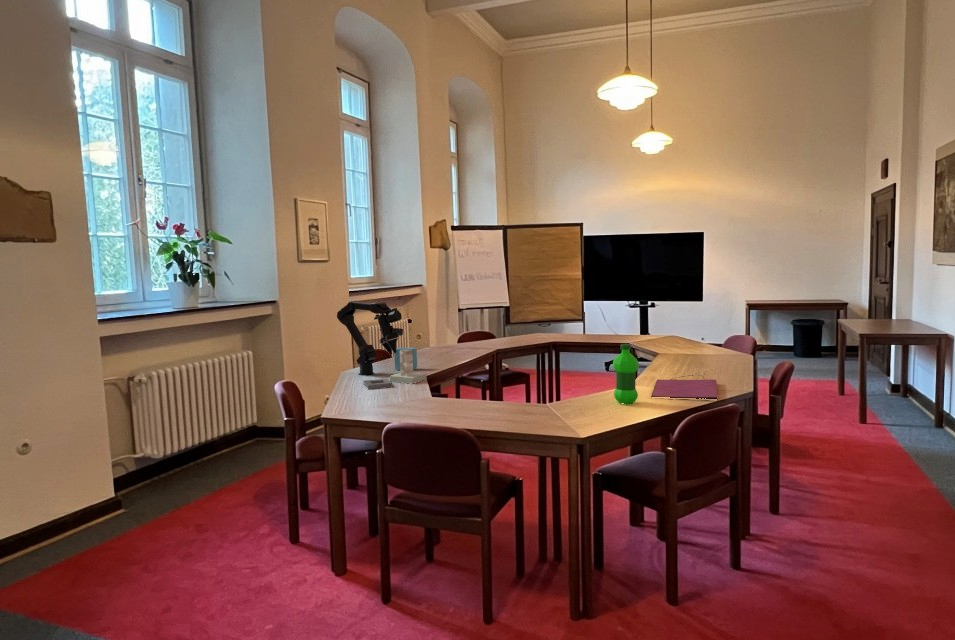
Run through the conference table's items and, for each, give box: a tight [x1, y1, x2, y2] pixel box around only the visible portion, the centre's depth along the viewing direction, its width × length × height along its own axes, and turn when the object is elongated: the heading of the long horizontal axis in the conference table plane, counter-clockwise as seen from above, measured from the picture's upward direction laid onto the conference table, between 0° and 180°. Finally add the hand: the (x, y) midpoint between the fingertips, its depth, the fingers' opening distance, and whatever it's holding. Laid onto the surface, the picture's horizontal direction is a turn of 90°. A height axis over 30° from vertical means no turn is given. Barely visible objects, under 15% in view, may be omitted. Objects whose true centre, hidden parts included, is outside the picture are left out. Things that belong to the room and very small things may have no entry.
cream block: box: [399, 349, 414, 376], centre depth 337 cm, size 4×4×13 cm
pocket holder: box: [363, 378, 393, 390], centre depth 328 cm, size 12×12×2 cm
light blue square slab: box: [393, 347, 418, 371], centre depth 370 cm, size 12×4×12 cm, turn 88°
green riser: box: [389, 372, 427, 384], centre depth 339 cm, size 14×12×3 cm
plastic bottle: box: [612, 343, 640, 405], centre depth 277 cm, size 10×10×25 cm
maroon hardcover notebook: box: [650, 374, 718, 400], centre depth 300 cm, size 40×4×27 cm
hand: (393, 353), depth 348 cm, fingers open, 9 cm apart
